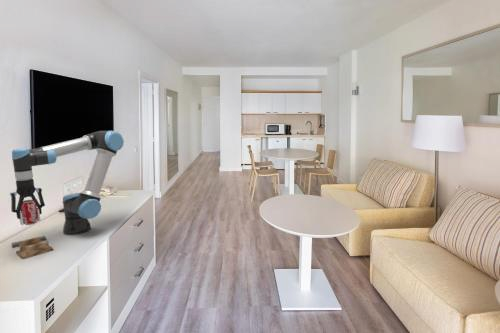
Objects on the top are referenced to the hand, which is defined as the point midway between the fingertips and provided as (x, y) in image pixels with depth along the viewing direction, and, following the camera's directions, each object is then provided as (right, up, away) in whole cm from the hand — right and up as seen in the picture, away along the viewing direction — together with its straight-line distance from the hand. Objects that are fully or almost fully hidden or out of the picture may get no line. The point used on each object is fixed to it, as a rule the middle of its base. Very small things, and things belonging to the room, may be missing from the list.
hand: (30, 222), depth 176 cm
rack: (+1, -16, +3) cm, 16 cm away
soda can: (0, -1, 0) cm, 1 cm away
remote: (-11, -15, +15) cm, 24 cm away
